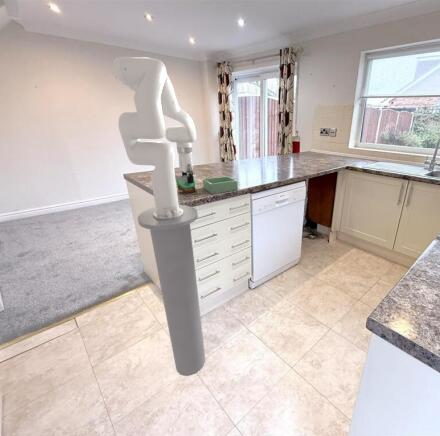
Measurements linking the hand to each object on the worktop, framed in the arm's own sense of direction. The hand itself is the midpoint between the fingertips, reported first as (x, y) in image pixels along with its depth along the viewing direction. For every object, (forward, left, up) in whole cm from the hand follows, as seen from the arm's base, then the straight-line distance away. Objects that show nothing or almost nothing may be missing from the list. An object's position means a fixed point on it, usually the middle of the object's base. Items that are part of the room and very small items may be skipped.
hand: (188, 181), depth 139 cm
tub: (-3, -18, -6) cm, 19 cm away
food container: (0, 0, -7) cm, 7 cm away
